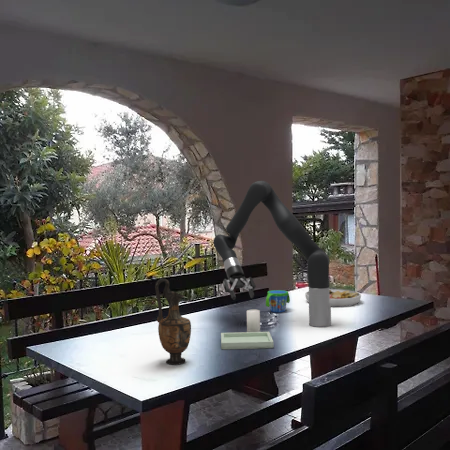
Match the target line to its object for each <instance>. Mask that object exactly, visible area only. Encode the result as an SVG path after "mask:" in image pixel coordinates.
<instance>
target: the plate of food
mask: <svg viewBox="0 0 450 450" xmlns="http://www.w3.org/2000/svg"><path fill="white" fill-rule="evenodd" d="M361 297H362V295H361V293H360V292H358V291H354V290H349V289H338V288H337V289H335V288H329V298H330V305H331V308H332V307H333V308H339V307H341V308H342V307H351V306H354V305H356V304H358V303H359V302H360V301H361V299H362V298H361ZM305 299H306V301H307V302H308V303H309V290H308V291H306V292H305Z"/></svg>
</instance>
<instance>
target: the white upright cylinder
mask: <svg viewBox="0 0 450 450" xmlns="http://www.w3.org/2000/svg"><path fill="white" fill-rule="evenodd" d="M260 312H261V310H260V309H255V308H254V309H248V310H246V332H261V313H260Z"/></svg>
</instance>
